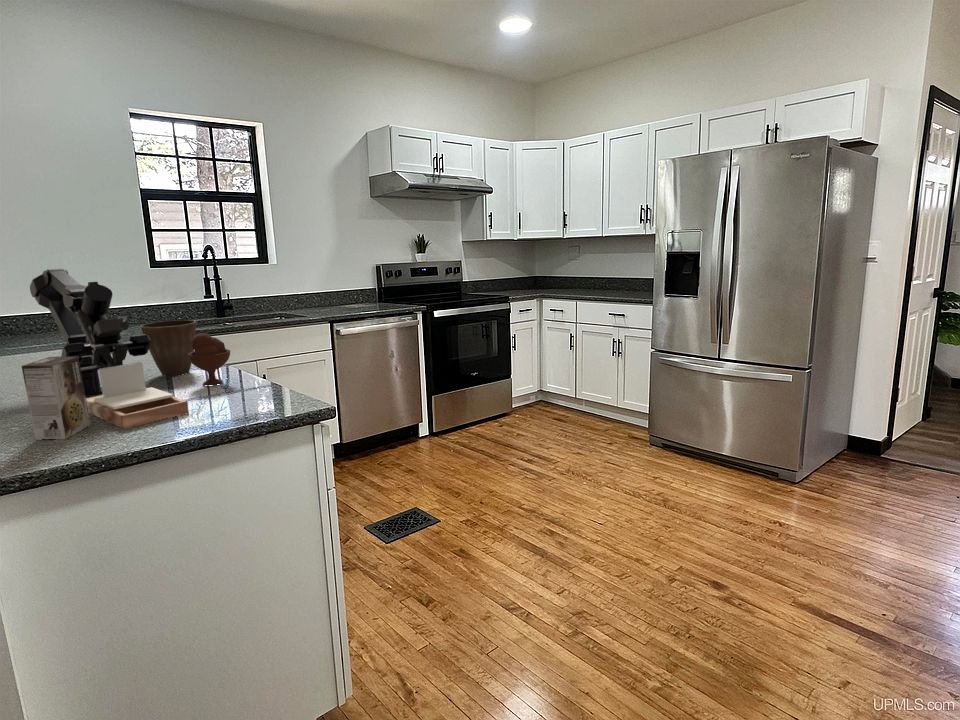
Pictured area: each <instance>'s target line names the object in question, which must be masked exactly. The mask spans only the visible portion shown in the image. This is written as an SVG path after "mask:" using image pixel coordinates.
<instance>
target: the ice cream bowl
mask: <svg viewBox="0 0 960 720" xmlns="http://www.w3.org/2000/svg"><path fill="white" fill-rule="evenodd" d="M191 346H192V348H193V349H194V351H193V352H191V353H189V354H187V355H188V358H189V360H190V361H191V365H194V367H195V368H198V369H199V370H201V371H206V372H207V374H208V379H207V380H205V381H204V382H202V384H201V385H217V384H221V383H222V382H223V380H220V379H218V378H217V377H216V370H218V369H220V368H222V367H223V366H224V365H225V364H226V363H227V362H228V361H229V359H230V356H231V349H227V348H226V347H225V346H226V345H225V343H224V342H223V341H222V340H220V339H219V338H217V337H212V336H211V334H208V333H201V332H200V333H198V334H196V335H195V336H194V337H193V339H192V341H191ZM223 383H224V382H223Z"/></svg>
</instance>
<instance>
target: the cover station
mask: <svg viewBox="0 0 960 720" xmlns="http://www.w3.org/2000/svg"><path fill="white" fill-rule="evenodd" d="M100 397H103V394H101V395H97V396H92V397H91V396H90V397H86V402H87V407H88V412H90V413H89V414H91V413H92V414H91V415H93V414H94V415H93V416H95V415H96V416H95V417H97V416H99V417H101V418H103V419H102V420H104V419H105V420H104V421H106V420H107V421H106V422H108V421H109V422H108V423H110V422H112V423H113V424H112V423H111V424H112V425H114V424H116V425H118V426H117V427H119V426H120V427H119V428H121V427H122V428H121V429H123V428H124V429H123V430H126V429H125V428H127V429H130V428H129V427H131V428H134V427H133V426H135V427H138V425H139V426H143V425H146V424H151V422H152V423H155V422H154V421H156V422H159V421H158V420H160V421H162V420H161V419H164V420H166V419H165V418H168V419H171V418H170V417H172V418H175V416H176V417H180V416H183V414H184V415H187V414H186V413H188V414H190V411H189V404H188V401H187V400H185V399H181V398H179V397H176V396H173V397H170V398H165V399H161V400H156V401H151V402H147V403H142V404H138V405H133V406H128V407H124V408H119V409H115V410H114V409H111V408H109V407H106V406H104V405H102V404H99V403H97V402H95V401H94V399H95V398H100ZM179 415H180V416H179ZM99 417H98V418H99ZM101 418H100V419H101ZM142 424H143V425H142ZM116 425H115V426H116Z"/></svg>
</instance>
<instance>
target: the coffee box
mask: <svg viewBox="0 0 960 720" xmlns="http://www.w3.org/2000/svg"><path fill="white" fill-rule="evenodd" d="M20 366H21V371H22V375H23V381H24V386H25V391H26V396H27V400H28V401H27V402H28V407H29V411H30V417H31V422H32V428H33V432H34V437H35V440H36V441H43V440H42V439H56V440H67V439H68V438H70V436H71V437H72V436H74V435H76V434H78V433H80V432H81V431H83V430H84V428H85V429H87V428H88V427H90V426H91V425H92V424H91V418H90V413H88V407H87V402H86V398H87V395H85V390H84V385H83V379H82V374H81V368H80V363H79V358H78V356H76V357H67V356H47V357H46V358H42V359H39V360H35V361H32V362H29V363H27V364H24V365H20ZM89 425H90V426H89ZM87 426H88V427H87ZM86 427H87V428H86ZM82 429H83V430H82ZM77 432H78V433H77Z"/></svg>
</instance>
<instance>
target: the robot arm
mask: <svg viewBox="0 0 960 720" xmlns="http://www.w3.org/2000/svg"><path fill="white" fill-rule="evenodd" d="M29 291H30V296H31V297H32V298H34V299H35V301H36V302H37V304H38V305H39V306H42V307H43V308H46V309H48V310H49V312H50V314H51V316H52V317H53V320H54V321H55V323H56V326H57V327H58V330H60V333H61V335H62V337H63V338H64V340H65V342H66V344H64V345H63V347H62V350H61V356H67V357H76V356H78V358H79V363H80V368H81V374H82V379H83V385H84V390H85V396H92V395H97V394H103V391H102V385H101V379H100V373H99V369H100V368H107V367H113V366H119V365H124V363H123V361H125V360H126V357H127V354H129V356H132V357H139V356H145V355H147V354H148V352H149V347H150V344H151V339H150V338H149V336H148V335H146V334H143V333H142V334H136V335H135V334H134V335H130V337H129V340H128V341H122V342H121V341H120V340H121V338H122V336H121V333H122V332H123V331H127V330H128V329H129V328H130V323H129V321H128V319H127V316H125V315H124V316H123V315H122V316H117V317H116V318H107V316H106V314H109V312H110V311H109V310H110V307H111V303H112V298H113V291H112V290H111V289H110V288H109V287H107V286H105V285H102V284H99V282H98V281H88V283H87V285H82V284H80V283H79V282H78V281H77V280H76V279H75V278H73V277H72V276H71V275H70V274H69V271H68V270H67V269H63V268H52V269H50V268H49V269H46V270H43V272H42V274H39V275H38V276H36V277H34V278H33V279H32V281H31V282H30V284H29ZM77 312H78V313H77ZM75 313H77V315H76V314H75ZM119 341H120V342H119Z"/></svg>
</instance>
